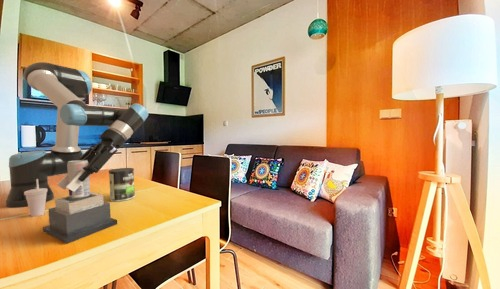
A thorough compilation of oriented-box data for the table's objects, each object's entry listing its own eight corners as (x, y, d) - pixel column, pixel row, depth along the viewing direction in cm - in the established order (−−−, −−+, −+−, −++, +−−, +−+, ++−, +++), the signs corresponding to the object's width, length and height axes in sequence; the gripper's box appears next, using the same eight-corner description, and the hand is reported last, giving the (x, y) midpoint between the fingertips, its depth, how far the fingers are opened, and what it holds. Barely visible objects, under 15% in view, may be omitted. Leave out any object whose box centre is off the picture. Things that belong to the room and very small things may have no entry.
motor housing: (43, 231, 66) (40, 199, 65) (92, 215, 78) (91, 188, 77) (66, 243, 58) (64, 207, 58) (117, 224, 71) (115, 194, 70)
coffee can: (139, 195, 103) (138, 167, 102) (123, 202, 93) (121, 171, 92) (122, 194, 105) (121, 167, 104) (104, 201, 95) (102, 171, 94)
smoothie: (53, 212, 82) (50, 178, 81) (31, 219, 76) (28, 181, 75) (43, 210, 84) (40, 177, 83) (21, 216, 78) (18, 180, 77)
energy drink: (77, 194, 70) (75, 160, 69) (94, 194, 70) (92, 159, 70) (64, 199, 65) (62, 162, 64) (82, 199, 65) (80, 161, 64)
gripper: (138, 142, 76) (90, 198, 62) (110, 141, 84) (62, 190, 71) (123, 127, 71) (68, 185, 57) (95, 128, 79) (40, 179, 66)
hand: (65, 188), depth 64 cm, fingers closed on energy drink, 5 cm apart
